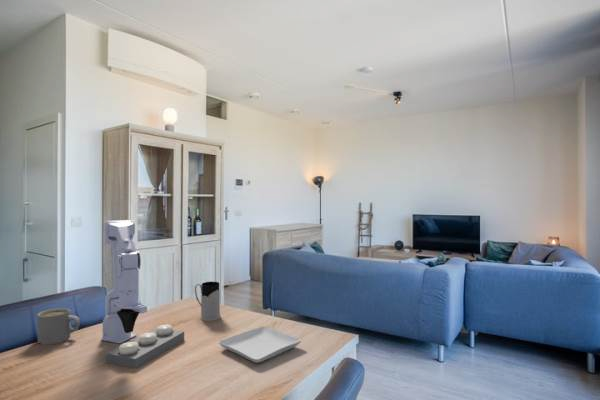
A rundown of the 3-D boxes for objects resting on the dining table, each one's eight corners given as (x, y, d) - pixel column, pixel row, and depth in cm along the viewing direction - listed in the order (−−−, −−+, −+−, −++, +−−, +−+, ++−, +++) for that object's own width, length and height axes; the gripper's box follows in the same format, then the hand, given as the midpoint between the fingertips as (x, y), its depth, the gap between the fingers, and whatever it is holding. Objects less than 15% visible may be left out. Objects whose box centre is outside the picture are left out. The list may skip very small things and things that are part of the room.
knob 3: (152, 342, 131) (152, 329, 131) (163, 337, 137) (163, 323, 137) (165, 344, 130) (165, 330, 130) (175, 339, 135) (175, 325, 135)
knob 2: (135, 352, 123) (135, 337, 123) (147, 345, 129) (147, 331, 129) (148, 354, 122) (148, 339, 122) (160, 348, 127) (160, 333, 127)
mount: (105, 362, 116) (105, 353, 116) (157, 335, 138) (157, 327, 138) (135, 368, 112) (135, 358, 112) (184, 339, 135) (184, 331, 135)
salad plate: (216, 350, 126) (217, 340, 126) (263, 333, 142) (263, 324, 142) (256, 370, 112) (256, 359, 112) (303, 349, 127) (303, 339, 127)
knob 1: (115, 363, 115) (115, 347, 115) (128, 355, 121) (128, 340, 121) (129, 365, 114) (129, 349, 113) (142, 358, 119) (142, 343, 119)
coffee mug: (30, 344, 130) (30, 316, 130) (50, 333, 140) (50, 307, 140) (67, 344, 129) (67, 316, 129) (84, 334, 139) (84, 308, 139)
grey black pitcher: (209, 322, 153) (210, 287, 153) (187, 316, 161) (187, 282, 161) (224, 316, 160) (225, 282, 160) (202, 311, 168) (202, 278, 168)
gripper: (154, 289, 117) (154, 331, 117) (124, 284, 124) (124, 324, 124) (136, 295, 111) (136, 339, 111) (105, 289, 117) (105, 331, 118)
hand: (128, 331), depth 117 cm, fingers closed
